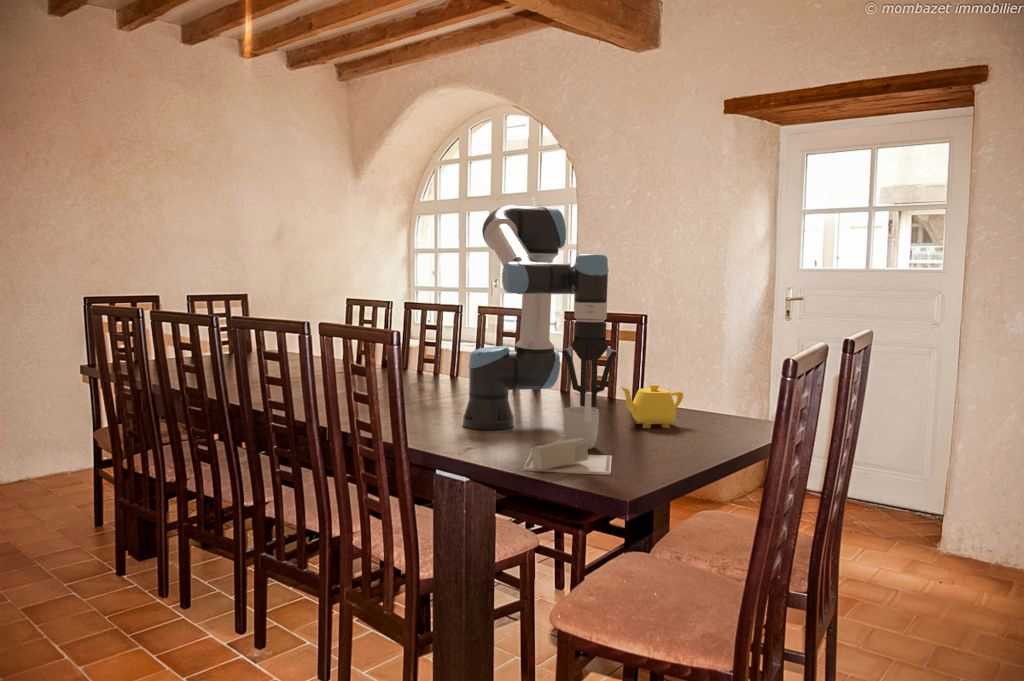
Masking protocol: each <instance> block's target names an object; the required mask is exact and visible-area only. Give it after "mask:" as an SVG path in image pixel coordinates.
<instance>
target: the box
mask: <svg viewBox="0 0 1024 681" xmlns="http://www.w3.org/2000/svg"><path fill="white" fill-rule="evenodd" d="M530 448H531V452H532V460H533V468H535V469H539V470H546V469H550V468H554V467H559V466H563V465H568V464H572V463H577V462H581V461H586V460H588V455H589V453H588V449H587V442H586V439H582V438H574V439H570V440H566V439H565V440H560V441H555V442H552V443H551V442H550V443H546V444H541V445H536V446H532V447H530Z"/></svg>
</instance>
